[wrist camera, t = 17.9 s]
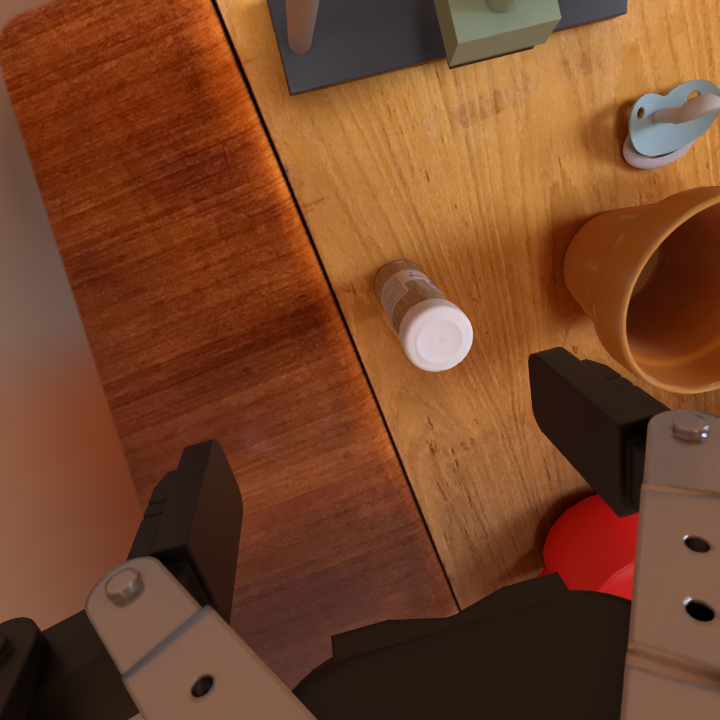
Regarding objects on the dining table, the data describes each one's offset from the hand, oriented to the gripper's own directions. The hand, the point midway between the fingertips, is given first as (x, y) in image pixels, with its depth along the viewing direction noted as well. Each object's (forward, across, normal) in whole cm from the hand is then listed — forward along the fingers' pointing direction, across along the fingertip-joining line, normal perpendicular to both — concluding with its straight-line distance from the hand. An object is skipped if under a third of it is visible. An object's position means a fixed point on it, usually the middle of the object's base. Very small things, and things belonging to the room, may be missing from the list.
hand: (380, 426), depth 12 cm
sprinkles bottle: (+31, -6, +6) cm, 32 cm away
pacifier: (+31, -29, -1) cm, 42 cm away
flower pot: (+31, -25, +9) cm, 41 cm away
